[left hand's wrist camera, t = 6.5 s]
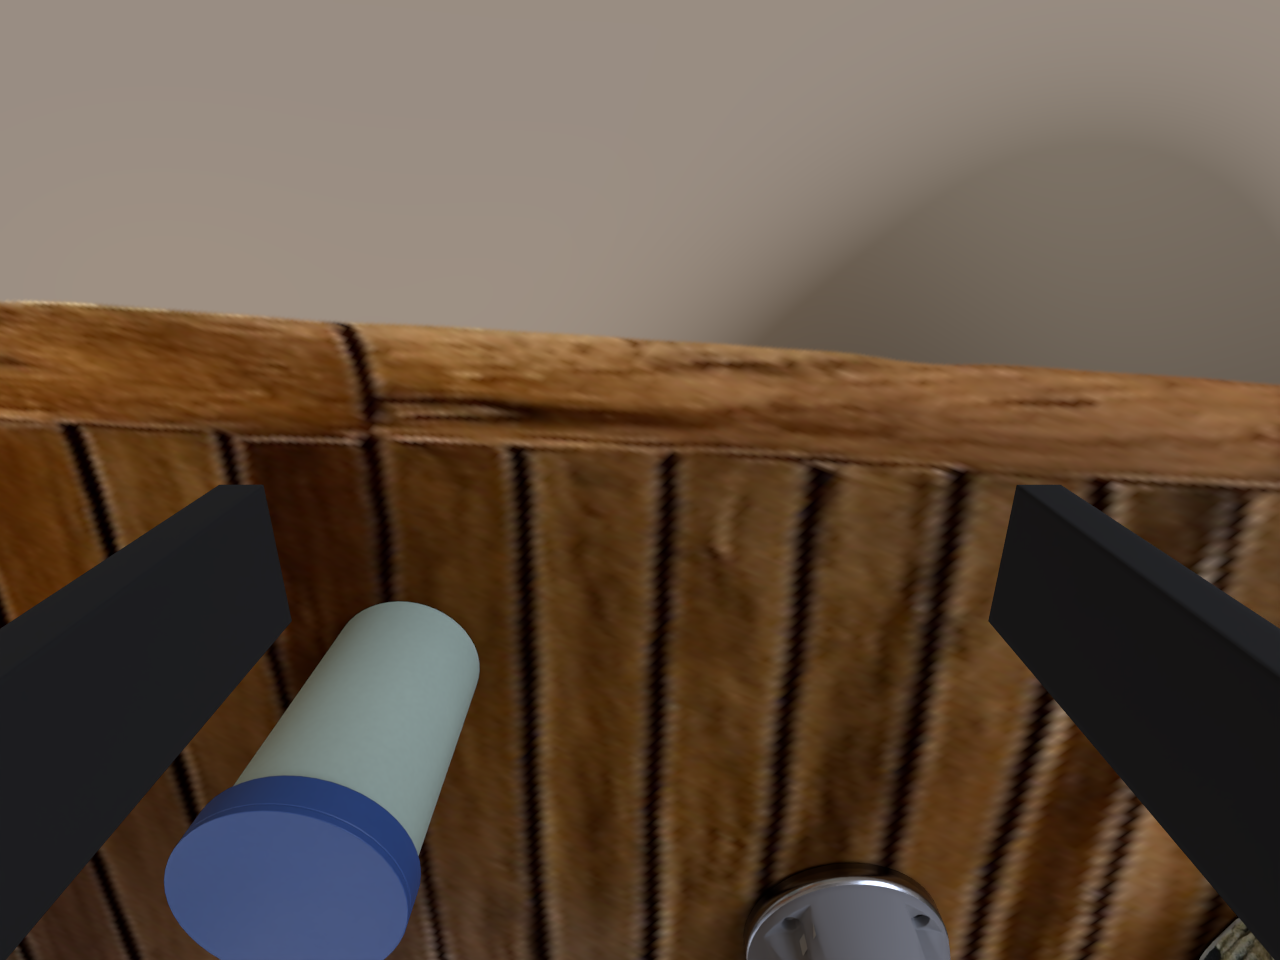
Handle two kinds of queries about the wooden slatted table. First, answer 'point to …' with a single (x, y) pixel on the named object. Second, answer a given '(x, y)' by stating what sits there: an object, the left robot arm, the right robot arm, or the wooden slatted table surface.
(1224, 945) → the fossil
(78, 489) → the wooden slatted table surface
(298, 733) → the jar
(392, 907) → the lid
